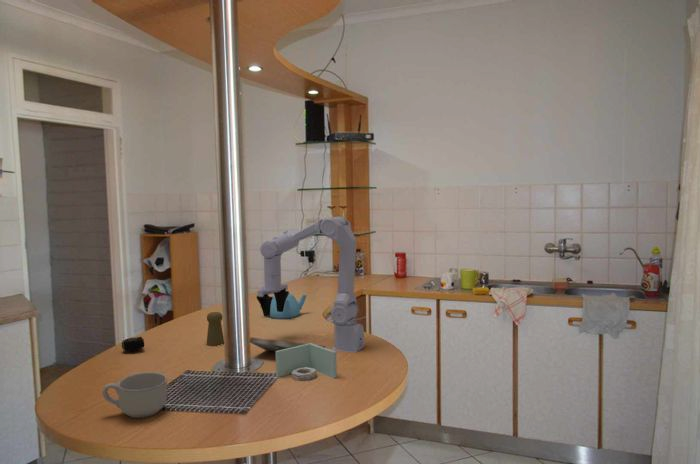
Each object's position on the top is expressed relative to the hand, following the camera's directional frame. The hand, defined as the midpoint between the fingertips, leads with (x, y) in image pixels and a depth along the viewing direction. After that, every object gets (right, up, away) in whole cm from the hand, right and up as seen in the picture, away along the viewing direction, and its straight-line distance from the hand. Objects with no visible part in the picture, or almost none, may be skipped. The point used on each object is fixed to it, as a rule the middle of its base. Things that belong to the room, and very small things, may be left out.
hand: (273, 313), depth 180 cm
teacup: (-23, -14, -60) cm, 66 cm away
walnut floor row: (+9, -10, -11) cm, 18 cm away
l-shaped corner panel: (+15, -12, -37) cm, 42 cm away
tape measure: (-42, -11, -9) cm, 44 cm away
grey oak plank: (+5, -8, -19) cm, 22 cm away
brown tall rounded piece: (-20, -10, -2) cm, 22 cm away
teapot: (-1, -8, +40) cm, 41 cm away
